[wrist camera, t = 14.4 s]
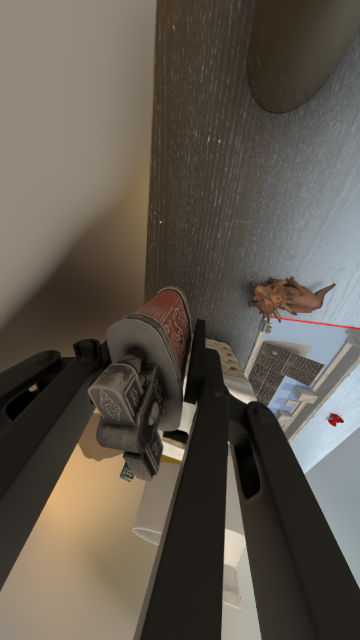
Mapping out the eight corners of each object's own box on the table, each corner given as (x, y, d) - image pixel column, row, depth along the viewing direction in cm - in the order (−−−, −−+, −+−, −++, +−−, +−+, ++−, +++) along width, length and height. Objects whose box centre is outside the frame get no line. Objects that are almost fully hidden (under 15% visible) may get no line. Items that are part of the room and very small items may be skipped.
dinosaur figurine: (233, 306, 27) (246, 327, 18) (238, 276, 24) (256, 284, 16) (310, 309, 24) (365, 334, 16) (324, 276, 22) (397, 286, 14)
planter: (217, 439, 47) (226, 560, 28) (194, 456, 56) (188, 558, 37) (169, 416, 47) (144, 525, 28) (153, 438, 55) (125, 531, 36)
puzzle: (128, 457, 69) (121, 474, 64) (138, 462, 69) (132, 479, 64) (125, 461, 72) (119, 477, 66) (135, 465, 72) (129, 482, 66)
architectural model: (366, 330, 24) (408, 348, 19) (274, 446, 43) (283, 470, 38) (263, 317, 26) (276, 330, 21) (219, 433, 45) (220, 454, 40)
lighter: (152, 287, 12) (13, 364, 3) (188, 283, 12) (131, 367, 3) (167, 355, 15) (116, 485, 7) (195, 355, 15) (181, 501, 6)
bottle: (225, 469, 56) (240, 610, 33) (200, 458, 55) (197, 592, 33) (241, 460, 50) (271, 620, 28) (214, 448, 50) (221, 599, 28)
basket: (171, 321, 31) (145, 368, 17) (239, 340, 29) (267, 405, 16) (157, 386, 41) (135, 446, 28) (207, 402, 40) (208, 472, 27)
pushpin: (334, 408, 33) (341, 417, 31) (343, 411, 32) (351, 419, 31) (324, 417, 34) (331, 426, 33) (333, 419, 34) (340, 428, 32)
